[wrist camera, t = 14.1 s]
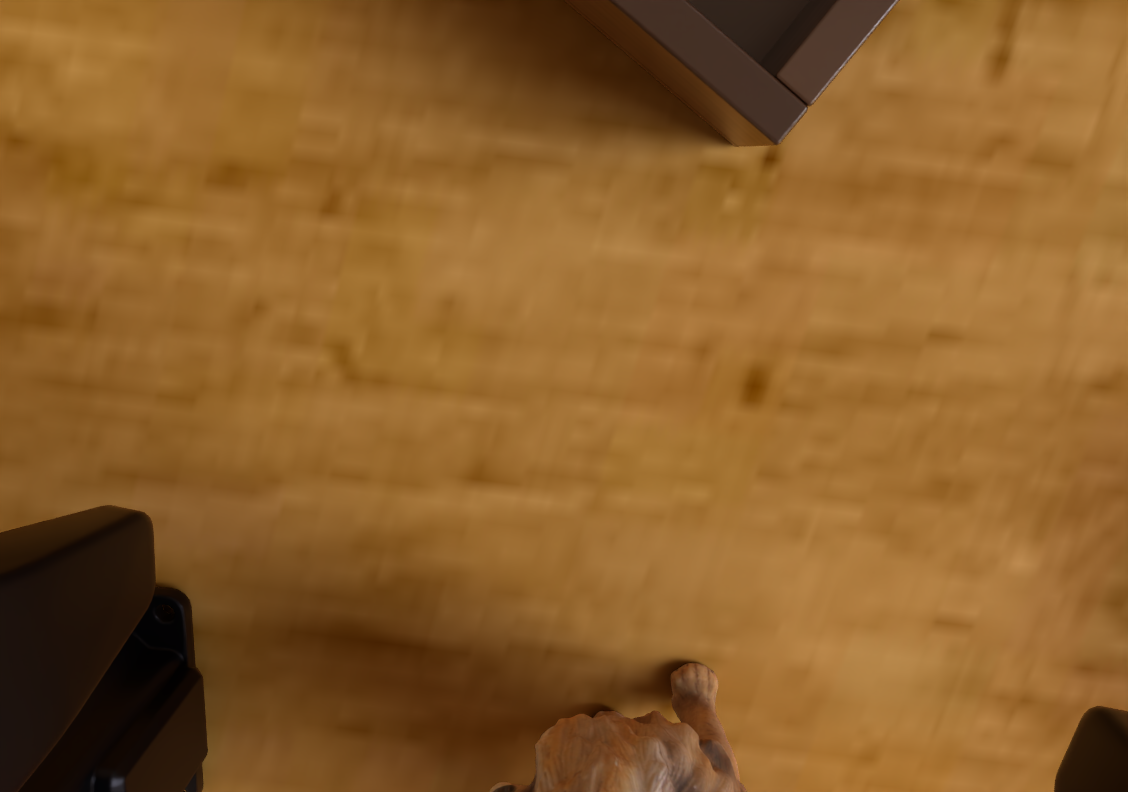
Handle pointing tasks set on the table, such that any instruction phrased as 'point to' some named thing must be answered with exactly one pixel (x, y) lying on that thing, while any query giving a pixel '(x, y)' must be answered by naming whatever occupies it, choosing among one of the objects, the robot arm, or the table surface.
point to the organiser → (740, 54)
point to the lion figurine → (640, 747)
